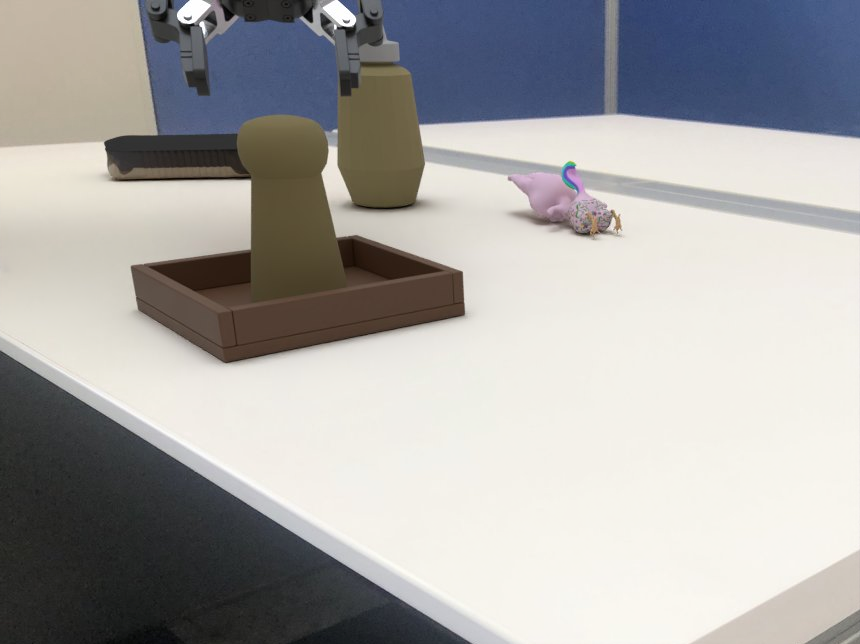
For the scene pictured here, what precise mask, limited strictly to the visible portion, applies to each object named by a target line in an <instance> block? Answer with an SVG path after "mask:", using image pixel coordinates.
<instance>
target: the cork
mask: <svg viewBox="0 0 860 644" xmlns="http://www.w3.org/2000/svg"><path fill="white" fill-rule="evenodd" d="M237 134H238V136H237V149H238V155H239V157H240V160H241V162H242V165H243V166H244V167H245V168H246V170H247V171H248V172H249V173H250V174H251V177H250V249H251V303H257V302H263V301H269V300H275V299H281V298H287V297H293V296H299V295H305V294H311V293H317V292H323V291H329V290H335V289H341V288H346V287H348V285H347V281H346V277H345V272H344V268H343V264H342V259H341V255H340V251H339V247H338V242H337V234H336V231H335V226H334V222H333V217H332V213H331V208H330V203H329V201H328V195H327V192H326V188H325V187H326V186H325V182H324V179H323V174H322V173H323V171H324V169H325V167H326V166H327V164H328V159H329V151H330V150H329V140H328V137H327V135H326V134H327V133H326V132H325V130H324V129H323V127H322V126H321V124H320V123H318V122H317V121H315V120H314V119H311V118H308V117H305V116H299V115H293V114H269V115H263V116H258V117H255V118H252V119H248V120H246V121H245V122H244V123H242V124H241V126H240V128H239V130H238V132H237Z"/></svg>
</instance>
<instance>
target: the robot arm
mask: <svg viewBox="0 0 860 644" xmlns="http://www.w3.org/2000/svg"><path fill="white" fill-rule="evenodd" d="M356 3H357V8H358V13H356V14H353V13H352V12H351V11H350V10H349V9H348V8H346V6H344V5H343V4H342V3H341V2H340V1H339V0H189V1H187V2H186V3H185V4H184V5H183V7H181V8H180V9H179V10H177V9H175V0H144V9H145V12H146V17H147V19H148V24H149V28H150V32H151V35H152V38H153V40H154V41H155V42H157V43H159V44H167V43H170V42H171V41H172V42H174V43H177V44H179V53H180V67H181V70H182V74H183V79H184V82H185V83H186V85H187V87H188V88H196V93H197V96H198V97H211V84H210V71H209V57H208V55H209V54H208V49H207V45H208V44H209V42H211V41H212V39H214V37H215V36H216V35H220V36H222V35H223V34H225V33H226V32H227V30H228V29H229V28H230V27H231V26H233V24H235V22H236V21H237V20H238V19H239V18H242V19H243V20H244V23H261V22H264V21H273V22H278V23H282V24H296V23H295V20H297V19H299V20H301V22H303V23H304V24H305V25H306V26H307V27H308V28H309V29H310V30H312V32H314V34H316V35H317V36H318V37H325V38H326V39H327V40H328V41H329V42H330V43H331V44H332V45H333V46H334V54H335V55H334V56H335V63H336V71H337V81H338V80H339V89H340V97H352V94H351V88H359V86H360V84H361V65H360V58H359V50H358V49H359V47H360V46H362V45H364V44H369V45H370V46H374V47H376V46H380V45H381V44H382V43H383V27H384V9H383V8H384V7H383V4H382V0H356Z"/></svg>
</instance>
